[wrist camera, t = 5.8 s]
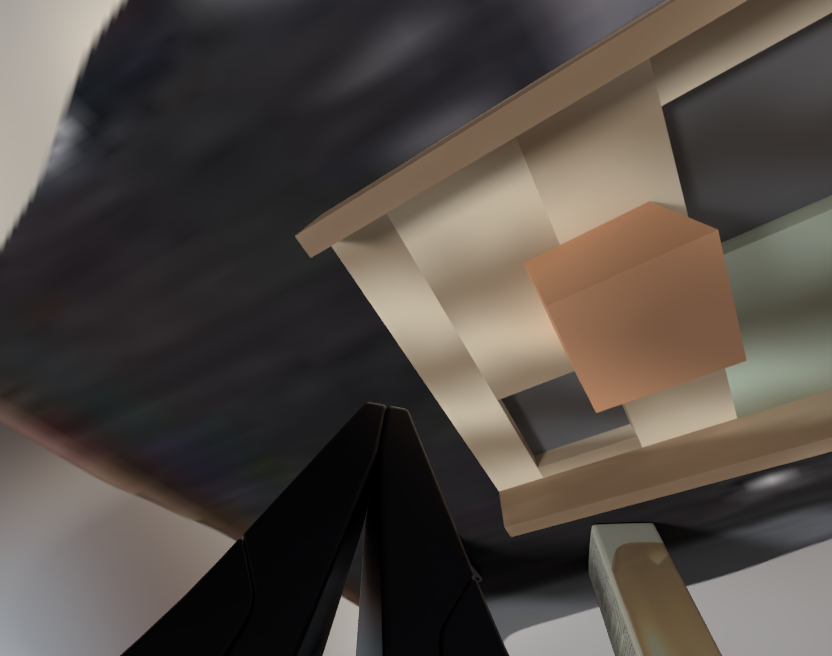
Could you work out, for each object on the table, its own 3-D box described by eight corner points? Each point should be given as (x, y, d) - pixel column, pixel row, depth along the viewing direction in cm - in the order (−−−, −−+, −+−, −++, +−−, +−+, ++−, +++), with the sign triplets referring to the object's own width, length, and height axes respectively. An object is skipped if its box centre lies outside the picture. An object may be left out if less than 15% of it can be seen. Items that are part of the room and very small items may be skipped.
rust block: (679, 306, 18) (746, 360, 14) (565, 353, 19) (596, 413, 16) (649, 201, 16) (718, 229, 12) (523, 262, 17) (546, 306, 13)
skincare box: (643, 569, 30) (753, 819, 19) (585, 571, 31) (662, 814, 20) (655, 518, 27) (793, 780, 16) (590, 520, 28) (684, 775, 17)
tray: (894, 363, 20) (982, 411, 17) (502, 485, 26) (511, 536, 23) (893, -144, 12) (1066, -243, 8) (321, 214, 18) (295, 236, 15)
